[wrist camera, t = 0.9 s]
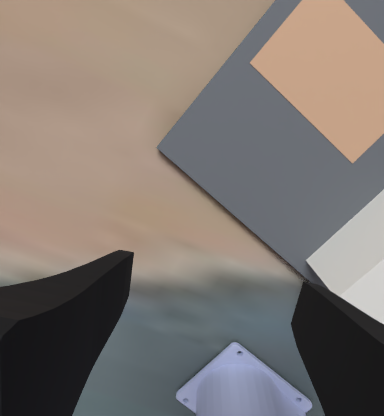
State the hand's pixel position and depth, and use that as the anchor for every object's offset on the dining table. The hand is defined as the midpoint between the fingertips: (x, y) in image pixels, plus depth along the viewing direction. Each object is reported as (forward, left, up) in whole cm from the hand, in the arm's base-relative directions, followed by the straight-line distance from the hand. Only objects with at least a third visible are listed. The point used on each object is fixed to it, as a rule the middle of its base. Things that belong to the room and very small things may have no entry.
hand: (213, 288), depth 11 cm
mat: (-4, -10, -10) cm, 14 cm away
